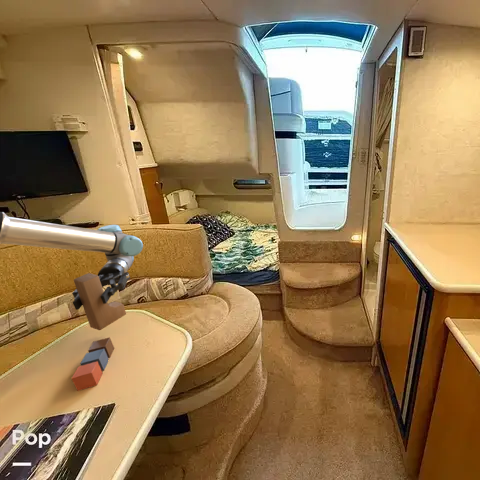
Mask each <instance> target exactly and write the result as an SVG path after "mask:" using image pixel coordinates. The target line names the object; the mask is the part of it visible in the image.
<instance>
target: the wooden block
mask: <svg viewBox="0 0 480 480" xmlns="http://www.w3.org/2000/svg"><path fill="white" fill-rule="evenodd" d="M73 283H74V286H75V288H76V289H77V291H78V294H79V297H80V299H81V302H82V308H83V310H84V314H85V316H86V318H87V322H88V324H89V326H90V327H89V328H92V329H94V330H97V331H102V330H103V329H105V328H107V327H108V326H110V325H111V324H113V323H115V322H117V321H118V320H120V319H121V318H123V317H124V316H126V315H127V311H126V308H125V305H124V303H121V302H118V301H111V302H109V303H108V302H107V303H105V304H103V301H102V299H101V295H102V294H103V292H104V291H105V290H104V289H103V287H102V285H101V282H100V279H99V276H98V274H93V273H91V272H88V273H85V274H83V275H81V276H79V277H76V278H74V279H73Z"/></svg>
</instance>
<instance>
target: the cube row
mask: <svg viewBox="0 0 480 480" xmlns="http://www.w3.org/2000/svg"><path fill="white" fill-rule="evenodd" d="M114 350H115V346H114V344H113V341H112V340H111V337H110V336H109V337H106V338H105V337H104V338H102V339H98V340H94V341H92V343H91V344H90V346H89V347H88V350H87V352H86V353H85V354H84V356H83V358H82V360H81V361H80V363H79V364H80V365H79V366H77V368H76V370H75V371H74V373H73V375H72V377H71V378H70V379H71V381H72V383H73V385H74V387H75V388H76V391H77V392H79V391H82V390H85V389H89V388H92V387H96V386H98V385H99V382H100V381H101V378H102V376H103V372H104V371H105V369H106V367H107V365H108V363H109V361H110V358H111V357H112V354H113V352H114ZM108 360H109V361H108Z"/></svg>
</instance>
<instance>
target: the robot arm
mask: <svg viewBox="0 0 480 480" xmlns="http://www.w3.org/2000/svg"><path fill="white" fill-rule="evenodd" d="M2 244H3V245H13V246H14V245H16V246H25V247H36V248H48V249H60V250H71V251H82V252H93V253H104V255H105V258H106V261H107V262H105V264H104V265H103V266H102V267H101V268H100V269H99V271H98V272H97V275H98V276H99V279H100V282H101V285H102V288H103V287H106V288H105V289H104V290H103V291H104V292H103V294H102V295H101V299H102V301H103V304H105V303H108V302H109V301H110V298H111V297H112V296H114V295H115V294H116V293H118V291H124V290H125V287H126V286H127V283H128V281H129V280H130V279H131V276H130V274H129V270H130V268H131V267H132V266H133V263H134V261H135V259H134V258H135V257H136V256H137V255H139V254H141V252H142V251H143V248H144V244H143V241H142V240H141V238H139V237H137V236H135V235H131V234H127V233H124V232H123V230H122V229H121V226H120V225H118V224H108V225H103V226H101V227H98V228H97V229H91V228H85V227H78V226H72V225H65V224H58V223H52V222H45V221H39V220H33V219H25V218H20V217H19V218H18V217H13V216H8V215H7V214H6V213H5V212H4V211H0V245H2ZM71 294H72V296H73V298H74V299H73V301H72V305H73V307H74V310H75V311H77V310H80V309H81V308H82V307H83V305H82V302H81V299H80V297H79V294H78V291H77V288H76V289H74V291H73V292H71Z"/></svg>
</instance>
